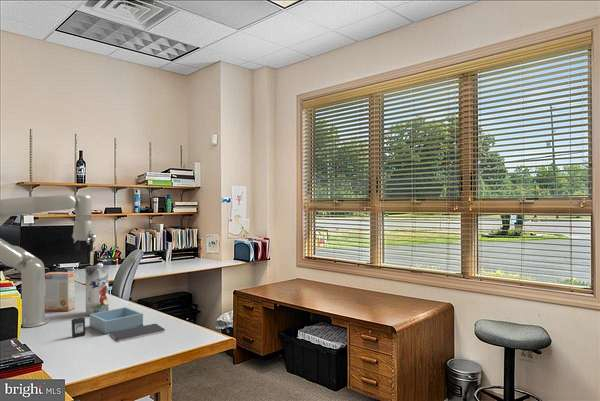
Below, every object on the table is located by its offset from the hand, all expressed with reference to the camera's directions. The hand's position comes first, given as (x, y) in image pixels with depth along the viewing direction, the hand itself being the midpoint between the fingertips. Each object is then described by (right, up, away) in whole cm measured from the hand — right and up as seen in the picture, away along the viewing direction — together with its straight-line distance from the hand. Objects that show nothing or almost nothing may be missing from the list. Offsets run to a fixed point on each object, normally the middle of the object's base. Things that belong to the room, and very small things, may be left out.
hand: (83, 251), depth 218 cm
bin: (+24, -35, -16) cm, 45 cm away
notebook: (+39, -35, -26) cm, 59 cm away
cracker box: (-21, -35, +14) cm, 43 cm away
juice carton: (+4, -35, +7) cm, 36 cm away
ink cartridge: (+13, -35, -30) cm, 48 cm away
